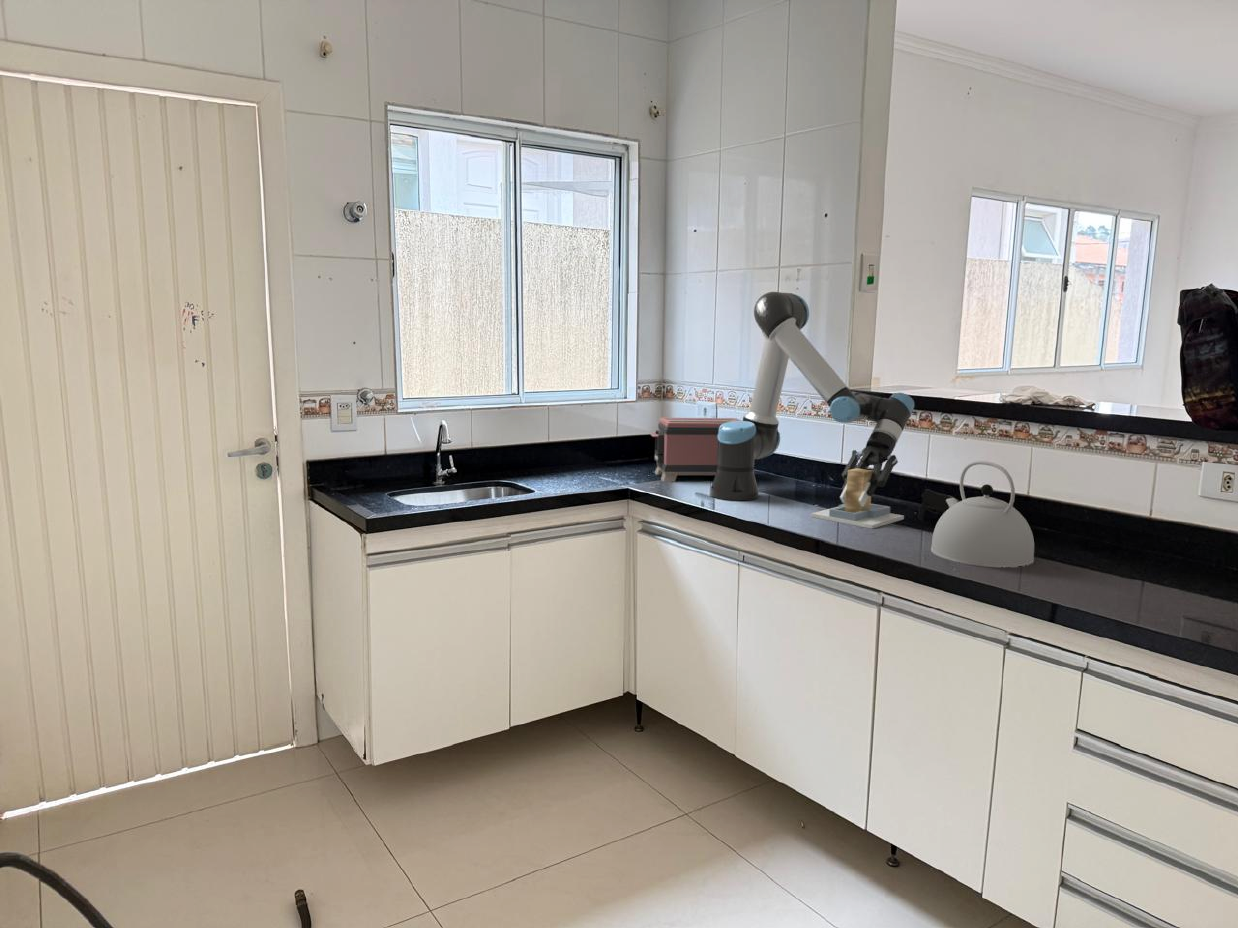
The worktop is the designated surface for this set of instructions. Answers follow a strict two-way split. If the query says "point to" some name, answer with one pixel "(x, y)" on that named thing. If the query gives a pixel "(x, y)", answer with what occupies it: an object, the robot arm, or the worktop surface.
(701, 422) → the toaster
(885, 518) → the grey shape fitting board
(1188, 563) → the worktop surface
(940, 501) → the gun
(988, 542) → the kettle
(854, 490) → the block
